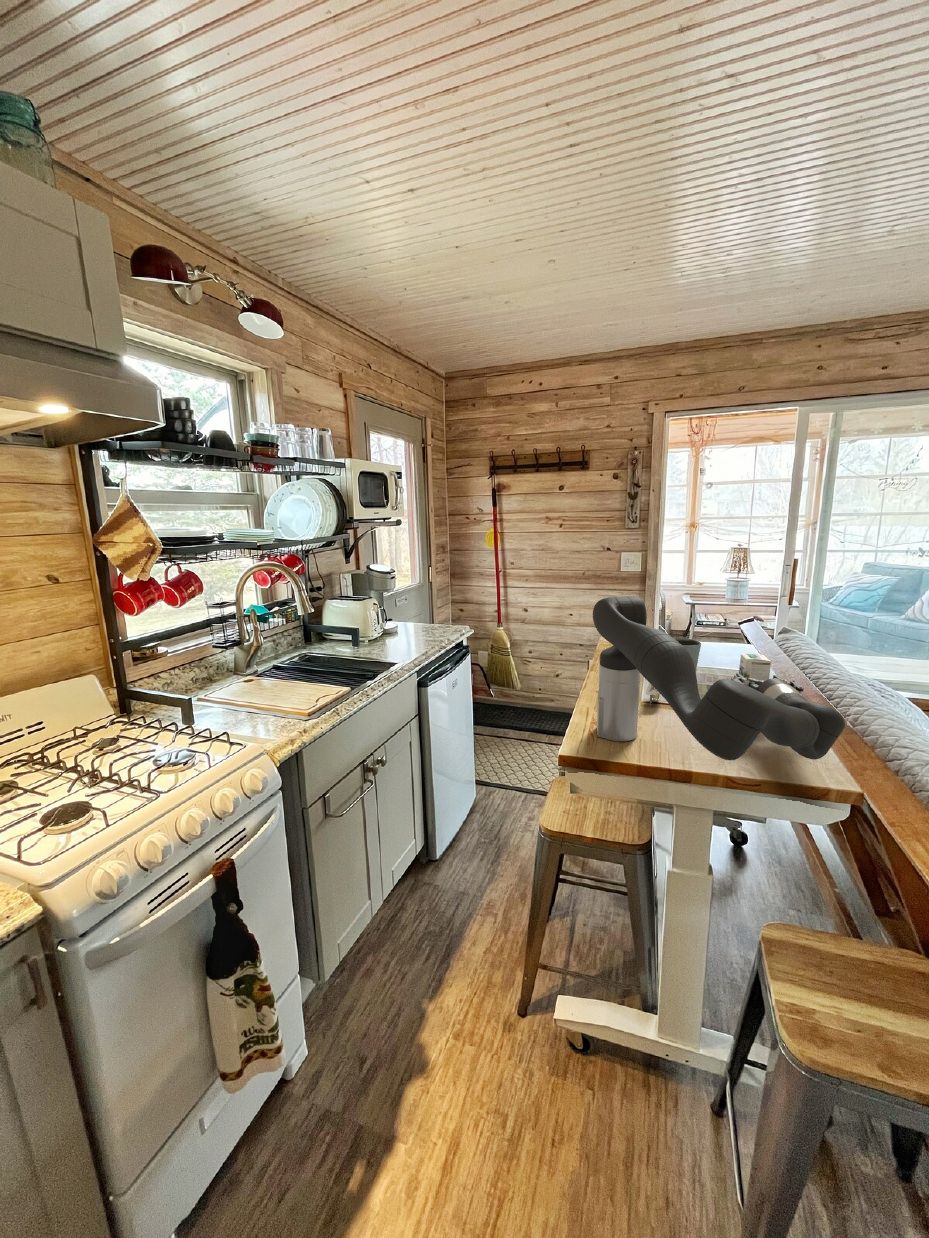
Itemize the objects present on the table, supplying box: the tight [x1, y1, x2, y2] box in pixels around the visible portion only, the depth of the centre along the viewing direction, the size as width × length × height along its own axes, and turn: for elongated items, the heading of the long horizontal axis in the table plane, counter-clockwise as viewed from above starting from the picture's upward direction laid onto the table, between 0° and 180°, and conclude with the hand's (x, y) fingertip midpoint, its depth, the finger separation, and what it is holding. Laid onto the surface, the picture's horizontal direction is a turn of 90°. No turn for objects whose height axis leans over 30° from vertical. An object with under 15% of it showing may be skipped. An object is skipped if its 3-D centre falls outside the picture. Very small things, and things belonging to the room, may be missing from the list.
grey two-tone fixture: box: [645, 682, 661, 708], centre depth 144 cm, size 12×18×7 cm, turn 155°
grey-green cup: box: [673, 637, 702, 672], centre depth 163 cm, size 10×10×12 cm
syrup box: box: [738, 653, 772, 685], centre depth 133 cm, size 6×6×14 cm
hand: (755, 677), depth 130 cm, fingers open, 8 cm apart
